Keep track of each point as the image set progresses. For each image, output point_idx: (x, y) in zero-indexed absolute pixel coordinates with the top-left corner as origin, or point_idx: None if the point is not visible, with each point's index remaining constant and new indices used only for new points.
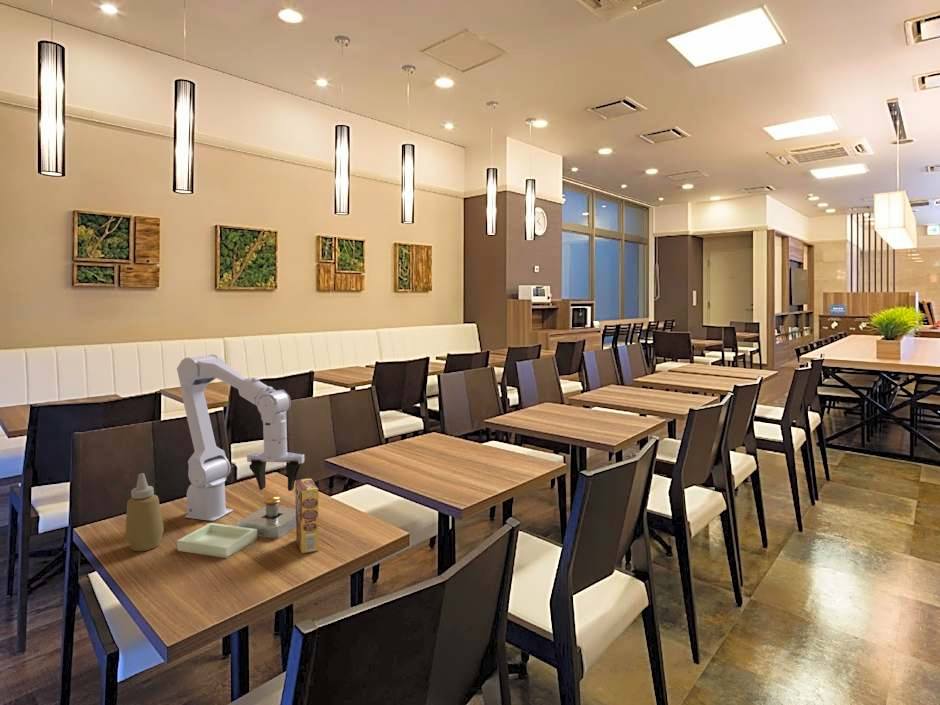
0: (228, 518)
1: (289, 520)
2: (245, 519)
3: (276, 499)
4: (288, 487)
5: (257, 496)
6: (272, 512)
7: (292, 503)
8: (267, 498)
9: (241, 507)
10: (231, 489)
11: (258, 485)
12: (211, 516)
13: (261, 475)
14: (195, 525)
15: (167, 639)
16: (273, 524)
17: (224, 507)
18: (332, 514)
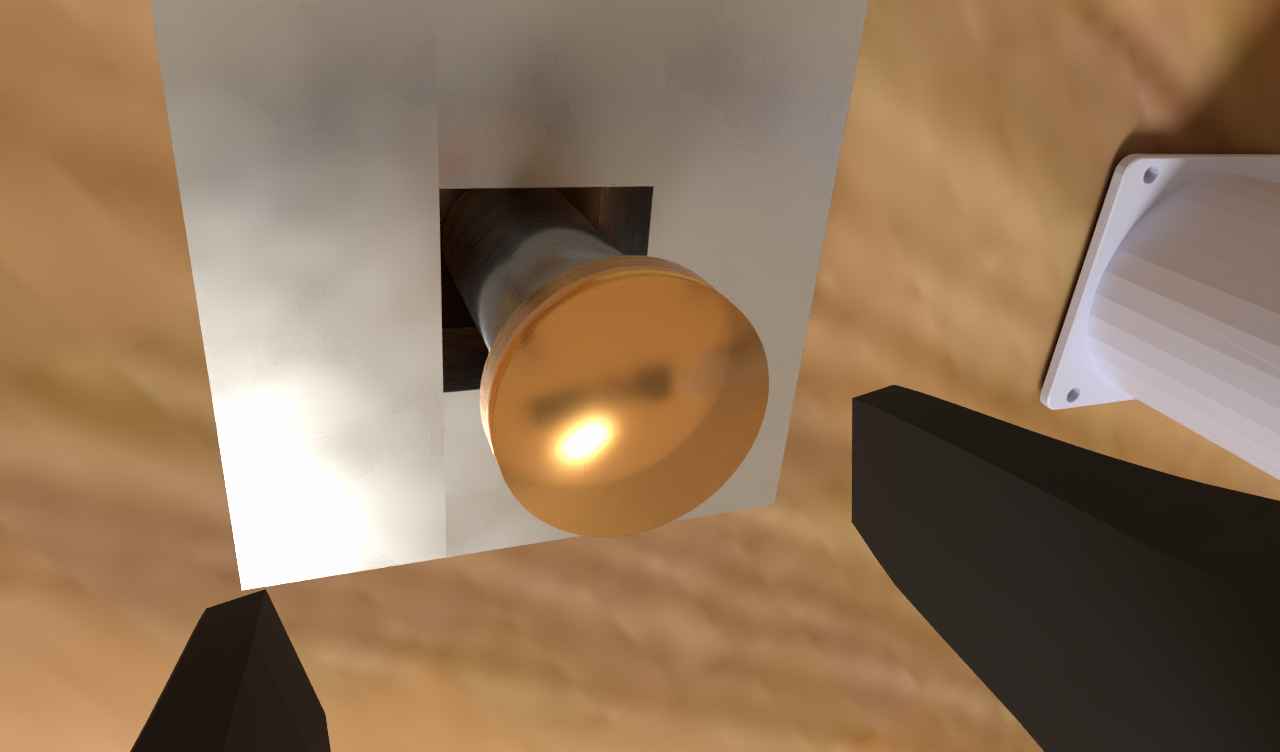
0: (1020, 267)
1: (187, 239)
2: (809, 68)
3: (499, 381)
4: (239, 643)
5: (965, 670)
6: (515, 259)
7: (647, 712)
8: (674, 345)
9: None
10: None
11: (972, 412)
12: (1166, 205)
13: (1092, 618)
14: (1230, 37)
15: None
16: (309, 2)
17: (1128, 345)
18: (61, 737)
